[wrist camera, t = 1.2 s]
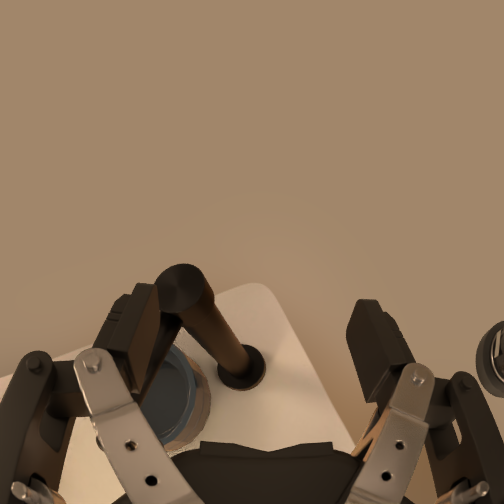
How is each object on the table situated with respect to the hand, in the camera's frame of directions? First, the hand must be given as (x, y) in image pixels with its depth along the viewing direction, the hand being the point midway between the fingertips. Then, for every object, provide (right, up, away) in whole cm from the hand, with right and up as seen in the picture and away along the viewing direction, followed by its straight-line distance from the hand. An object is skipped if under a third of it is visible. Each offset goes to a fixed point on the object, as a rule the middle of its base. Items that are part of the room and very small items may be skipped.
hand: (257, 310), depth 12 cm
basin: (-12, -17, +24) cm, 32 cm away
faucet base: (-1, -13, +25) cm, 28 cm away
